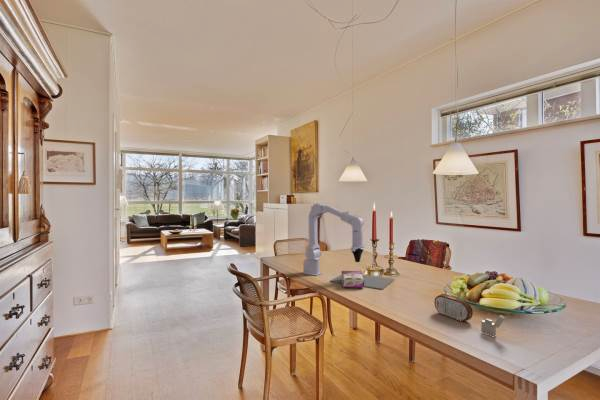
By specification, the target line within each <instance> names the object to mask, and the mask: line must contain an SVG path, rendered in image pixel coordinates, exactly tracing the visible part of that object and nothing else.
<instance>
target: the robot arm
mask: <svg viewBox="0 0 600 400" xmlns="http://www.w3.org/2000/svg"><path fill="white" fill-rule="evenodd" d="M326 213H329V214H331V215H334V216H335V217H338V218H340V221H341V222H344V223H346V224H348V225H350V226H351V227H352V228H351V229H352V230H351V235H352V236H351V237H352V240H351V241H352V242H351V243H352V245H351V247H350V251H351V253H352V254H353V257H354V262H355V263H360V262H361V259H362V254H363V252H364V248H365V246H364V245H365V244H363V238H364V237H363V225H364V224H365V221H364V219H363V218H362V217H361V216H357V215H355V214H352V213H350V211H348V210H347V211H341V210H339V209H337V208H336V207H334V206H332V205H329V204H327V203H323V202H322V203H315V204H313V205H312V206H311V207H310V211H309V214H308V245H307V247H306V251H305V257H306V258H305V259H304V261H303V265H302V266H303V272H302V274H303V275H307V276H308V275H310V276H318V275H320V274H322V273H323V272H322V271H320V257H321V256H322V250H321V246H320V244H319V242H318V239H319V238H318V232H319V231H318V219H319V217H321V216H322V215H325V214H326Z"/></svg>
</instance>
